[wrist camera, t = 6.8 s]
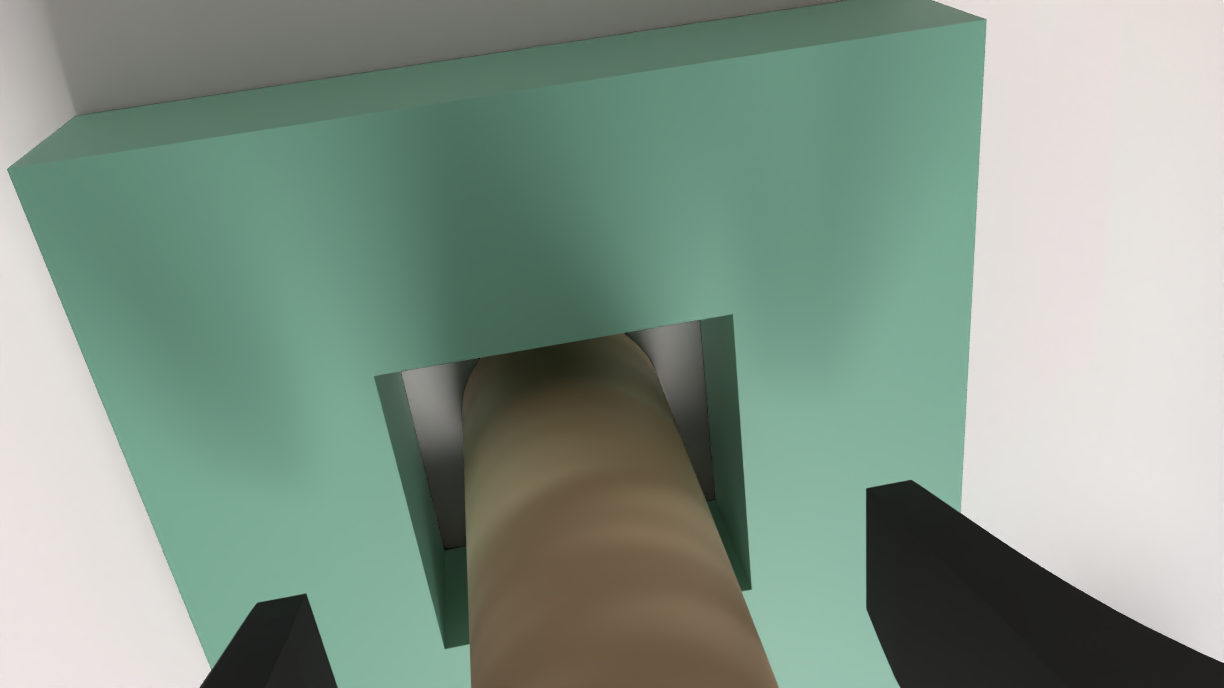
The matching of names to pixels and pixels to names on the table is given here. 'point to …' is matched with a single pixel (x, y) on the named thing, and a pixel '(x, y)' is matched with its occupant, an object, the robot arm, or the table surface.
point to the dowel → (593, 531)
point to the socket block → (531, 303)
